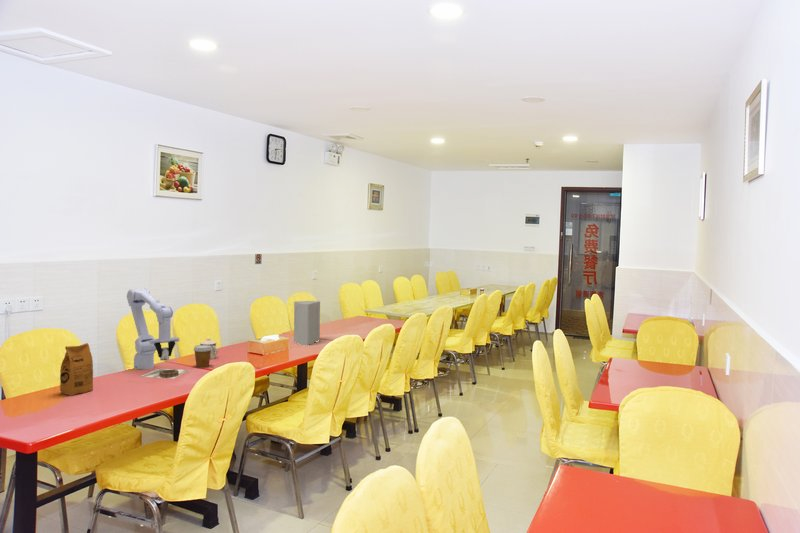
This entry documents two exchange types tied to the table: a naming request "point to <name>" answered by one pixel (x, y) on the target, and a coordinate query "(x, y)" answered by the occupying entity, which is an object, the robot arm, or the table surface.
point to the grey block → (306, 322)
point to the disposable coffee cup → (202, 355)
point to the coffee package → (76, 370)
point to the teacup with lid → (213, 346)
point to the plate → (156, 372)
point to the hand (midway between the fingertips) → (164, 356)
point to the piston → (164, 354)
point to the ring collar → (168, 373)
